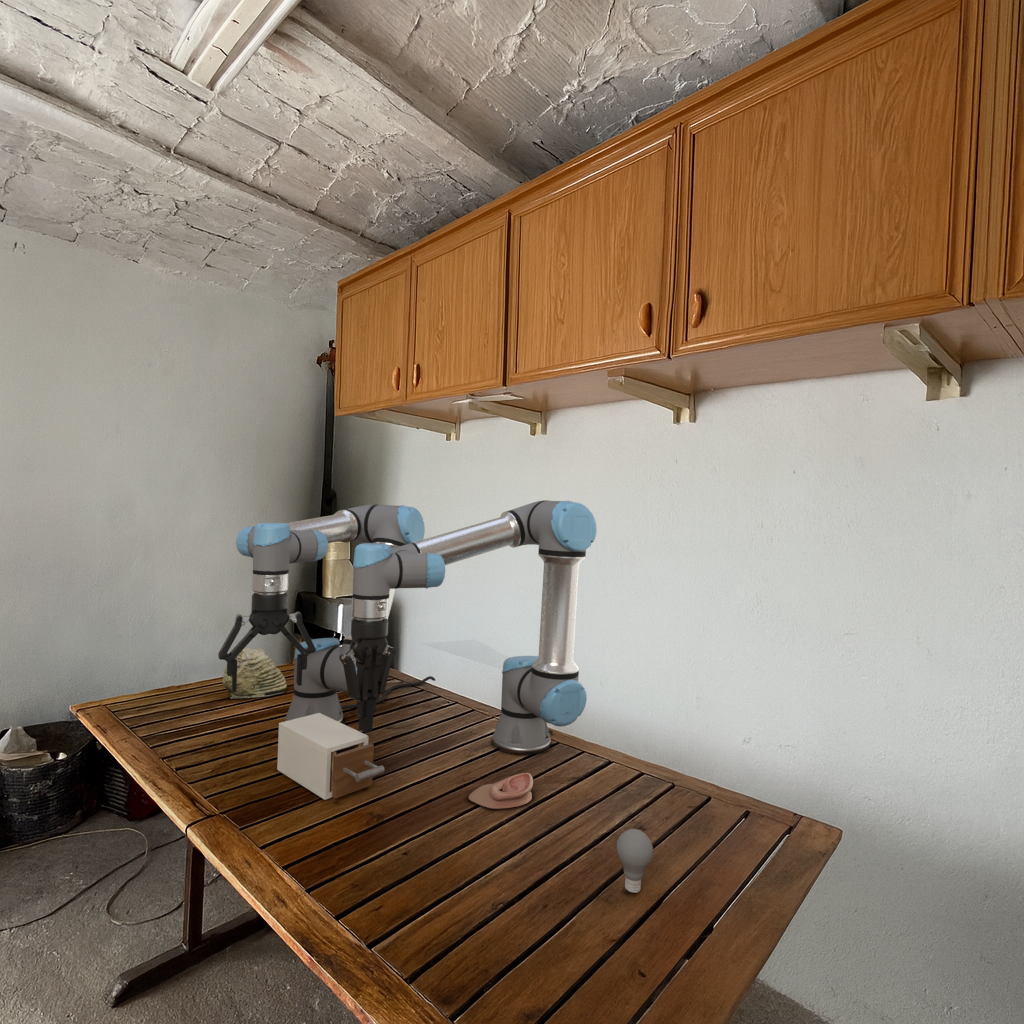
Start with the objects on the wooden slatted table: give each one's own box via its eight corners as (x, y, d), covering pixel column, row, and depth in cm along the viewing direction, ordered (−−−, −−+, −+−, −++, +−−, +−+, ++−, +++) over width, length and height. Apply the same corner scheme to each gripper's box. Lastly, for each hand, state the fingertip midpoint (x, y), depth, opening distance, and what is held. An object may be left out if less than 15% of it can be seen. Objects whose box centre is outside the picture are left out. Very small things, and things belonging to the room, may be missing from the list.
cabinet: (366, 784, 140) (368, 735, 140) (324, 800, 132) (326, 748, 132) (317, 757, 154) (319, 712, 153) (277, 769, 146) (278, 722, 145)
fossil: (218, 695, 195) (220, 647, 195) (278, 685, 208) (279, 640, 207) (228, 703, 189) (230, 653, 188) (289, 692, 201) (290, 645, 201)
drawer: (389, 794, 134) (391, 753, 134) (351, 809, 127) (353, 765, 127) (325, 759, 150) (326, 722, 150) (288, 770, 143) (290, 731, 143)
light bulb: (610, 879, 108) (613, 822, 108) (644, 879, 109) (647, 822, 109) (619, 902, 102) (622, 840, 102) (655, 901, 103) (658, 840, 103)
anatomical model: (464, 786, 132) (478, 764, 144) (464, 804, 133) (478, 781, 144) (527, 794, 130) (536, 771, 141) (526, 813, 130) (535, 789, 141)
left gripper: (208, 597, 132) (205, 698, 132) (330, 593, 143) (327, 686, 144) (207, 591, 138) (204, 687, 139) (324, 588, 150) (321, 677, 150)
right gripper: (353, 624, 124) (349, 743, 125) (406, 617, 134) (401, 727, 135) (332, 618, 129) (328, 733, 130) (384, 611, 139) (380, 718, 140)
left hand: (267, 687), depth 141 cm, fingers open, 13 cm apart
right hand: (365, 730), depth 132 cm, fingers closed
